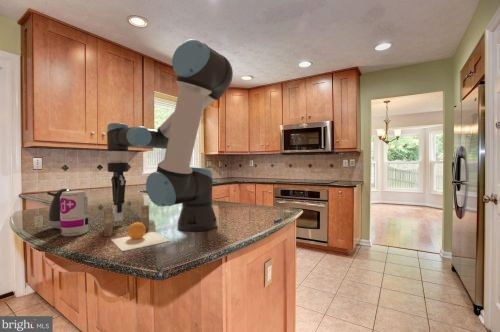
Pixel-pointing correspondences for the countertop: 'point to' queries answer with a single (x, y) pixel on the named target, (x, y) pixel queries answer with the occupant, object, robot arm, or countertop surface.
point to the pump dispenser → (55, 208)
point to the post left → (108, 222)
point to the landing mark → (139, 241)
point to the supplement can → (73, 213)
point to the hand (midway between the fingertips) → (118, 220)
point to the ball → (136, 230)
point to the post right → (145, 216)
